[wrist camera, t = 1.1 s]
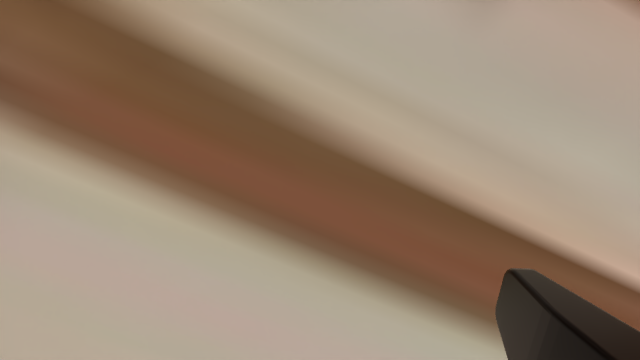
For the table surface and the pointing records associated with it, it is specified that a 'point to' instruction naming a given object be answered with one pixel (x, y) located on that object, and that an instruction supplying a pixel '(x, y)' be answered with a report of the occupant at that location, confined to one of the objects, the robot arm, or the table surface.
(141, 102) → the table surface
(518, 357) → the robot arm
